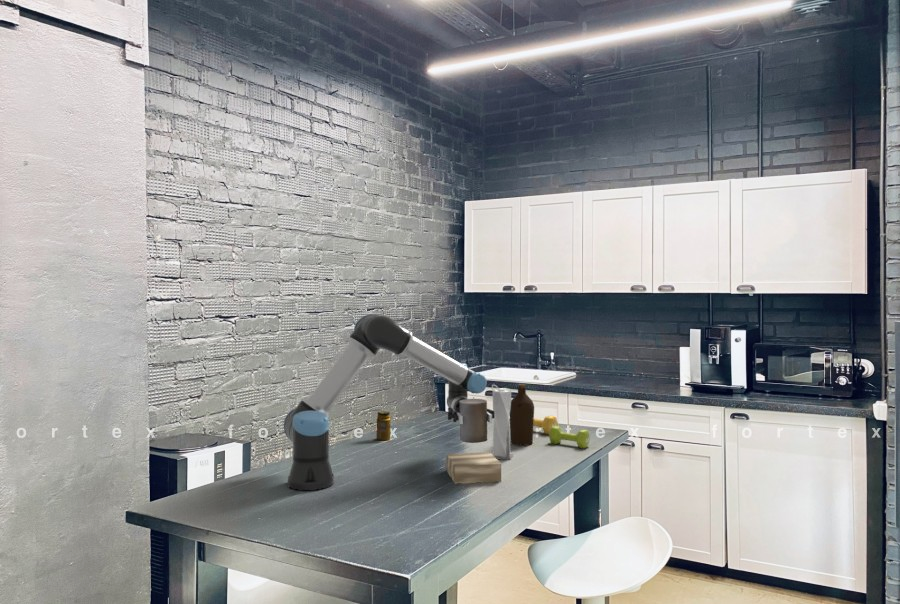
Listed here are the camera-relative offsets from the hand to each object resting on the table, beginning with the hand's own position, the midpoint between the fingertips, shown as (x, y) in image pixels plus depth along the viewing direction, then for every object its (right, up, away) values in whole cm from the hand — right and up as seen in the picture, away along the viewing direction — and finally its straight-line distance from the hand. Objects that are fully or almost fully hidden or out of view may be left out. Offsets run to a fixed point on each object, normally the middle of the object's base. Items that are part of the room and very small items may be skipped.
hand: (476, 419), depth 217 cm
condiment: (-38, -20, +58) cm, 72 cm away
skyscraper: (+11, -20, +31) cm, 39 cm away
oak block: (-1, -21, +5) cm, 21 cm away
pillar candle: (-1, -8, +5) cm, 9 cm away
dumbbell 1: (+31, -20, +76) cm, 85 cm away
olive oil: (+21, -20, +53) cm, 61 cm away
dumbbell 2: (+41, -20, +50) cm, 68 cm away
